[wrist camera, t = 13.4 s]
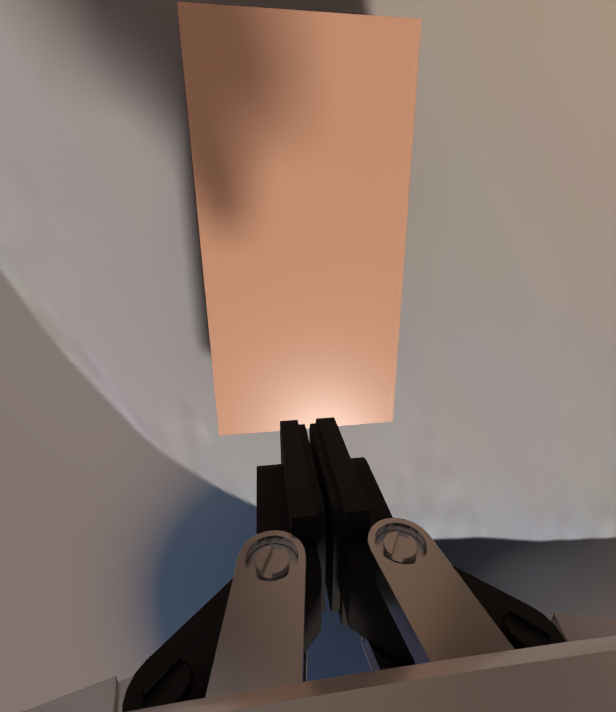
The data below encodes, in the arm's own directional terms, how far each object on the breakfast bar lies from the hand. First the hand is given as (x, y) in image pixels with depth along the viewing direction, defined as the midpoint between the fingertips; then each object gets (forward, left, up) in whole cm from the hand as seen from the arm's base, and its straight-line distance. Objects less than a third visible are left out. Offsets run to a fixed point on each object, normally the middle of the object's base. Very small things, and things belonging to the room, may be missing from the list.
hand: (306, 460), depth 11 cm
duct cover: (-6, +2, -13) cm, 14 cm away
